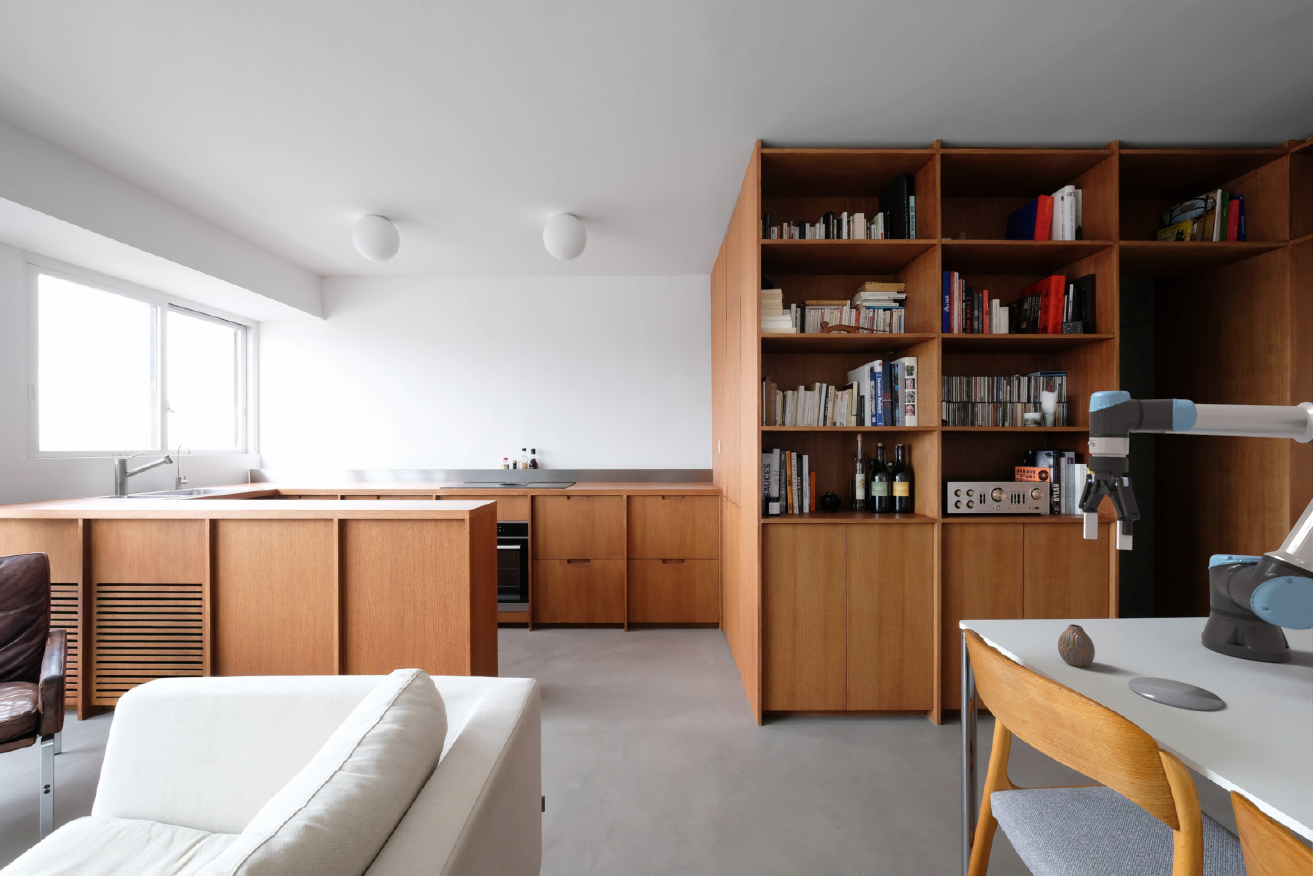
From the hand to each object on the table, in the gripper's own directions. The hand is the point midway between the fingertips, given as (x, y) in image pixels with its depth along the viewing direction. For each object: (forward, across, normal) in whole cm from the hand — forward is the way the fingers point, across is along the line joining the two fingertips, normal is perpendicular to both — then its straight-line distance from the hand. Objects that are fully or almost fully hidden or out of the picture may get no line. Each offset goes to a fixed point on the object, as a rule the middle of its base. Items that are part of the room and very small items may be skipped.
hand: (1106, 544), depth 137 cm
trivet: (+26, +22, +1) cm, 34 cm away
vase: (+27, +8, -10) cm, 30 cm away
